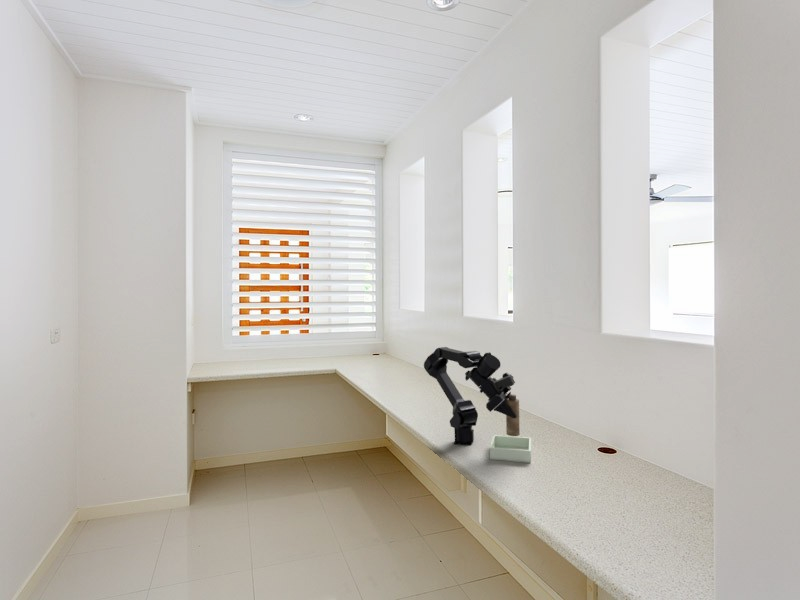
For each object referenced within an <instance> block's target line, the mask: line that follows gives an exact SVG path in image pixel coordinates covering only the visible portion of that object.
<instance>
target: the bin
mask: <svg viewBox="0 0 800 600" xmlns="http://www.w3.org/2000/svg"><path fill="white" fill-rule="evenodd" d="M489 460H491V461H503V462H504V461H505V462H515V463H516V462H517V463H518V462H519V463H529V464H531V463H532V437H526V436H525V437H524V436H509V435H496V434H495V435H492V438H491V443H490V446H489Z"/></svg>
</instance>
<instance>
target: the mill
mask: <svg viewBox="0 0 800 600" xmlns="http://www.w3.org/2000/svg"><path fill="white" fill-rule="evenodd" d="M507 403H508V405H509V406H510V408H511V409H512V410H513V412H514V413H515V414H516V416H517V417H516V418H512V417H510V416H507V415H505V416H506V417H505V419H506V420H505V421H506V427H505V428H506V436H512V437H520V430H521V429H520V399H518V398H517V394H513V393H511V395H509V399H507Z"/></svg>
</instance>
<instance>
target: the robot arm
mask: <svg viewBox="0 0 800 600" xmlns="http://www.w3.org/2000/svg"><path fill="white" fill-rule="evenodd" d="M449 361H452V362H455V363H458V365H459V366H460V367H462V368H464V369H471V368H472V369H471V370H467V371H466V372H465V374H464V375H465V377H464V378H465V381H468V380H471V381H472V382H473V384H474V385H475V386H476V387H477V388H478V389H479V392H480V393H481V394H482V393H483V394H484V395H485V396H486V397H487V398H488V399H487V400H488V402H486V404H485V407H486V409H487V411H489V413H491V412H492V411H494V412H495V411H496V412H498V413H501V414H503V415H505V416H506V415H507V416H510V417H512V418H516V417H517V416H516V414H515V413H514V412H513V410H512V409H511V408H510V406H509V405H508V403H507V399H509V395H511V394H512V392H511V390H512V387H513V386H514V385H515V384H516V381H515V380H514V376H513V375H512V373H511V374H510V373H508V372H505V373H503V374H502V377H500V378H499V379H496V377H493V378H492V377H491V376H493V375H494V373H496V372H497V371H498V370H499V368H501V361H500V359H499V358H498V357H496V356H495V355H493V354H492V352H485V353H484V355H482V354H481V352H480V351H477V350H471V351H462V350H458V349H453V348H449V347H447V346H444V347H437V348H436V349H435V350H434V351H433V352H432V353H431V354H430V355H428V356H427V358H426V359H425V360H424V362H423V368H424V370H425V371H426V373H427V374H428V375H429V377H432V378H433V379H435V380H436V381H437V383H438V385H439V386H440V387H441V389H442V392H443V393H444V395H445V396H446V398H447V399H448V402H450V405H451V407H452V417H451V418H450V419H449V424H450V427H451V428H453V430H454V441H453V444H454V445H461V446H462V445H463V446H472V444H473V442H474V441H475V436H474V435H475V430H474V429H473V426H475V427H476V426H477V421H478V416H479V414H478V410H477V407H476V406H475V405H474V404H473V401H472V400H471V399H467V400H466V399H464V397H463V396H462V395H461V393H460V392H459V389H457V387H456V385H455V383H454V382H453V380H452V379H451V377H450V376H449V374H448V372H447V368H448V366H447V364H448V363H449Z"/></svg>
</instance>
